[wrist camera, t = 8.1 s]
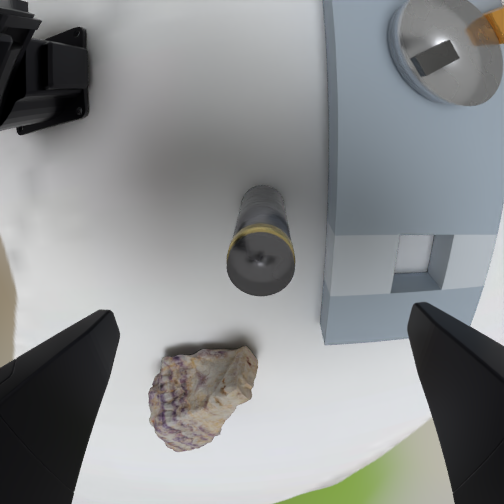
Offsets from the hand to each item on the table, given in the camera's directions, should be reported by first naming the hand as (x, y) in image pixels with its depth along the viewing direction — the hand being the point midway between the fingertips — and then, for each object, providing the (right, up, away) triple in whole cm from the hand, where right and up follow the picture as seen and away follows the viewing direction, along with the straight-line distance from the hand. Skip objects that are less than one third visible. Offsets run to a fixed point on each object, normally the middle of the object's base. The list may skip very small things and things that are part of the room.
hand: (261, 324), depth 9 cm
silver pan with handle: (+13, +15, +2) cm, 20 cm away
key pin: (0, +5, +11) cm, 12 cm away
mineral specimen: (-4, -9, +18) cm, 20 cm away
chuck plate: (+10, +9, +8) cm, 16 cm away
